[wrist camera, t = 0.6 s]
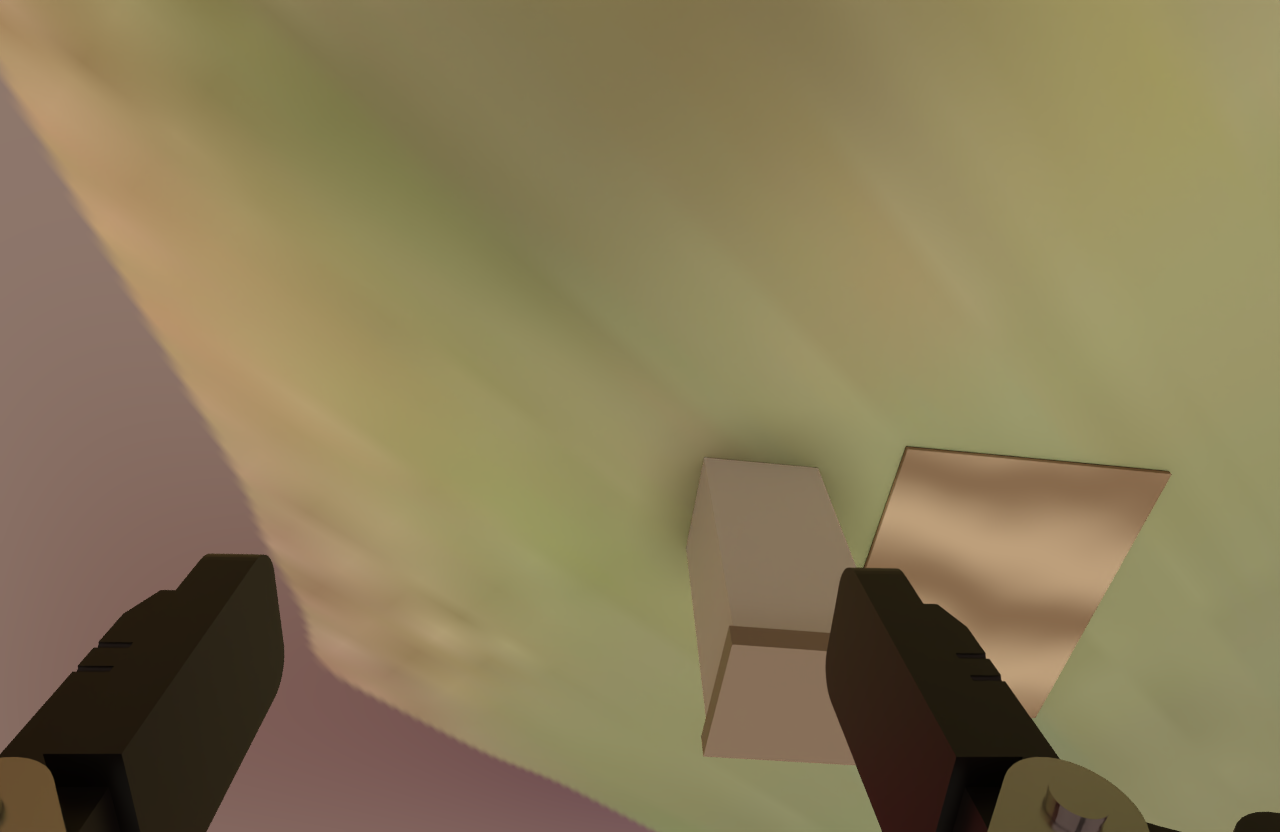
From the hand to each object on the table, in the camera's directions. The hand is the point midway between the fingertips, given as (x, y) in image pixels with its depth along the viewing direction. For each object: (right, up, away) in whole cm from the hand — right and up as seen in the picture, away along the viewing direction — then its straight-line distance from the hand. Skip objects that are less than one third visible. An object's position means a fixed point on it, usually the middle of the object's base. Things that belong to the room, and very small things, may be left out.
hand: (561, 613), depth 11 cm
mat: (+17, -6, +27) cm, 33 cm away
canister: (+6, -1, +24) cm, 25 cm away
